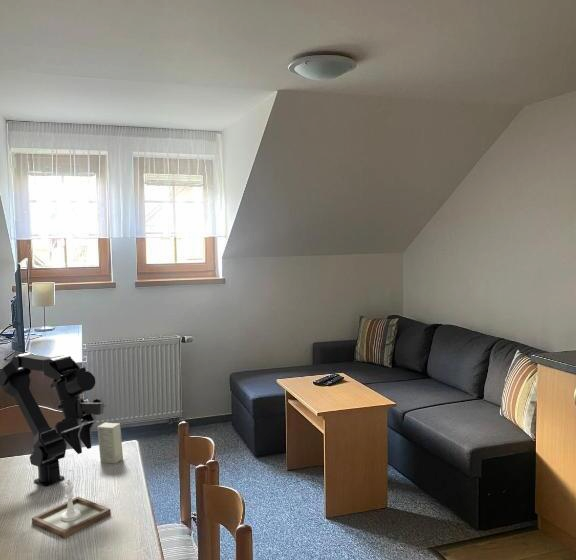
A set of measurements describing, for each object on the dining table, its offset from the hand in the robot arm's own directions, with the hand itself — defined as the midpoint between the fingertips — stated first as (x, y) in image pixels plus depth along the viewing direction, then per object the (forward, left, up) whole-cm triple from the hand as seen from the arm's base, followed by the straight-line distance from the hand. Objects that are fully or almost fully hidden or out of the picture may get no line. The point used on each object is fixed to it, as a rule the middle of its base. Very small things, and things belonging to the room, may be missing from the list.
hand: (85, 450), depth 165 cm
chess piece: (+8, -11, -12) cm, 19 cm away
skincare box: (-14, +20, -13) cm, 28 cm away
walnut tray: (+9, -11, -13) cm, 19 cm away
